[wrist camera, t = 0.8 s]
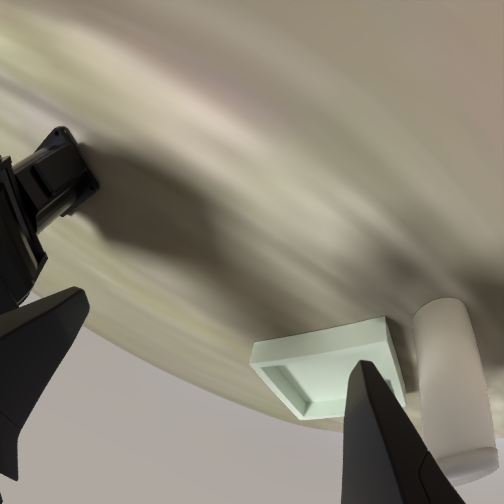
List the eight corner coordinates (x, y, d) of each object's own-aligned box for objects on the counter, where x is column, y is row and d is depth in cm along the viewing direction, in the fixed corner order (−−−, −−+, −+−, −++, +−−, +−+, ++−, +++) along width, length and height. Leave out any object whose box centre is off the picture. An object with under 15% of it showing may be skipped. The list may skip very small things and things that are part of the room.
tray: (303, 401, 36) (299, 420, 34) (254, 342, 30) (248, 363, 28) (405, 386, 30) (406, 406, 28) (384, 315, 25) (386, 340, 23)
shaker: (415, 344, 26) (421, 492, 15) (406, 306, 24) (418, 479, 12) (468, 329, 23) (492, 476, 12) (466, 289, 21) (505, 457, 10)
